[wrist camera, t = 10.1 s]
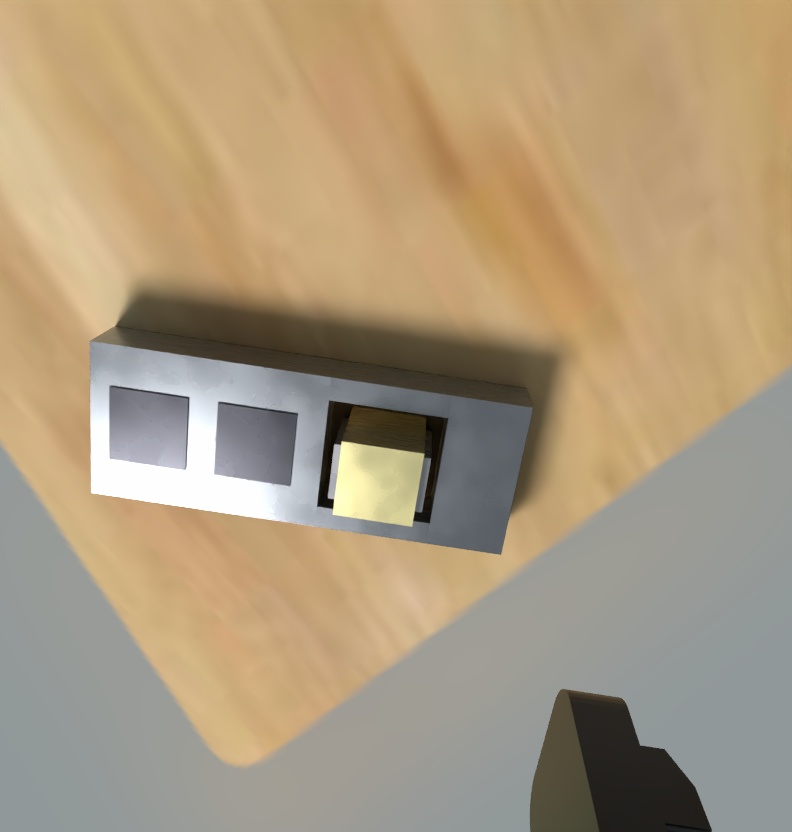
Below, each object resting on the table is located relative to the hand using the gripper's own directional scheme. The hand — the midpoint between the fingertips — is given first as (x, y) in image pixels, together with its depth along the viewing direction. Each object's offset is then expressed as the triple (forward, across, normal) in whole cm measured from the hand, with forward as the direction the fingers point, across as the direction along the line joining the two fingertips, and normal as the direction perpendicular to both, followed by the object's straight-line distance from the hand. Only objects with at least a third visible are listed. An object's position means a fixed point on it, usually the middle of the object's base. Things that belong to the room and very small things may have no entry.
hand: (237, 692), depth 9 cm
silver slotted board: (+30, +3, +9) cm, 31 cm away
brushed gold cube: (+30, -1, +9) cm, 31 cm away
